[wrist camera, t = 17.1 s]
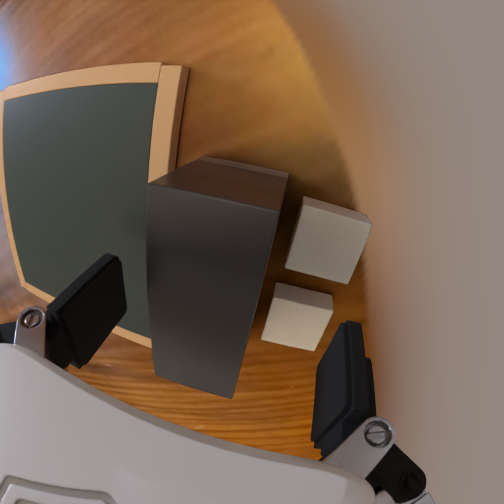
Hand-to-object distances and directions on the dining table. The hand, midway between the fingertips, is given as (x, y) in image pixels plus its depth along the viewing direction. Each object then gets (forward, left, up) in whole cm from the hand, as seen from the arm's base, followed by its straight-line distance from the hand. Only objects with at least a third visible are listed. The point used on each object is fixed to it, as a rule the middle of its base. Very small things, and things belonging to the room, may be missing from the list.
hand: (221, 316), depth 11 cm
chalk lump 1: (-2, +4, -6) cm, 7 cm away
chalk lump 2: (+4, +4, -6) cm, 8 cm away
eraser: (+1, -1, -6) cm, 6 cm away
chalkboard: (+1, -14, -6) cm, 15 cm away
